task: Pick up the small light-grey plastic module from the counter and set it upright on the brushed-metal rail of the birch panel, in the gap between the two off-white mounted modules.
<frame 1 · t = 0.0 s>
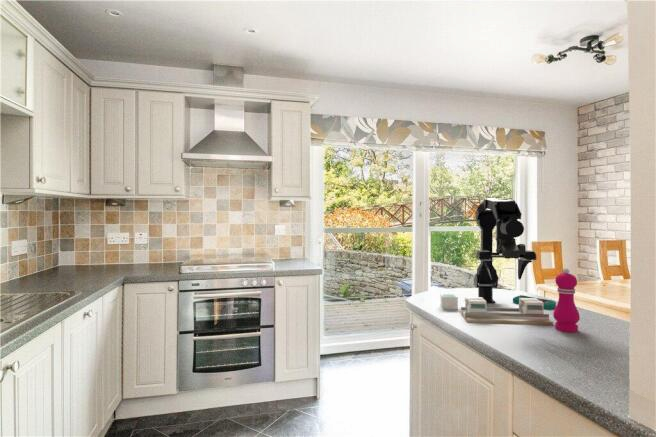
hand: (505, 279, 132), 15 cm above the table, tool pointing down, fingers open, 9 cm apart
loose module: (449, 307, 151), on the table
rail panel: (503, 317, 135), on the table
pepper mill: (566, 330, 121), on the table
digital multimeter: (533, 306, 153), on the table
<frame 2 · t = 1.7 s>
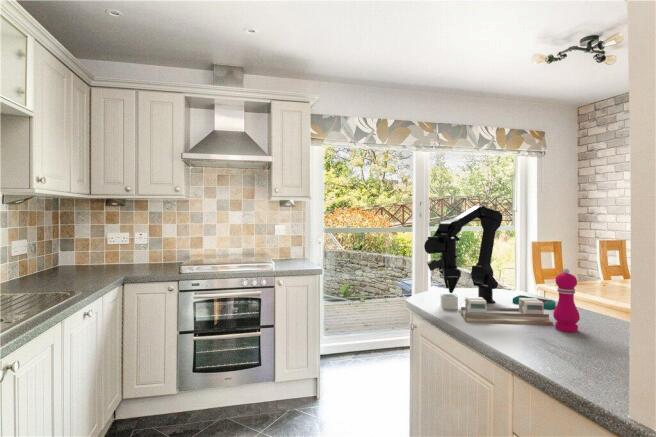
hand: (449, 290, 151), 7 cm above the table, tool pointing down, fingers open, 9 cm apart
nothing on the table moved.
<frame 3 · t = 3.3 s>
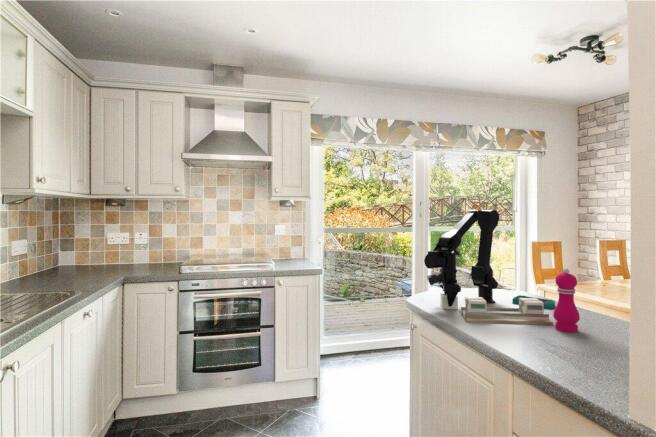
hand: (449, 304, 151), 1 cm above the table, tool pointing down, fingers closed on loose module, 5 cm apart
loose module: (449, 307, 151), on the table, touching gripper
everything else where it was.
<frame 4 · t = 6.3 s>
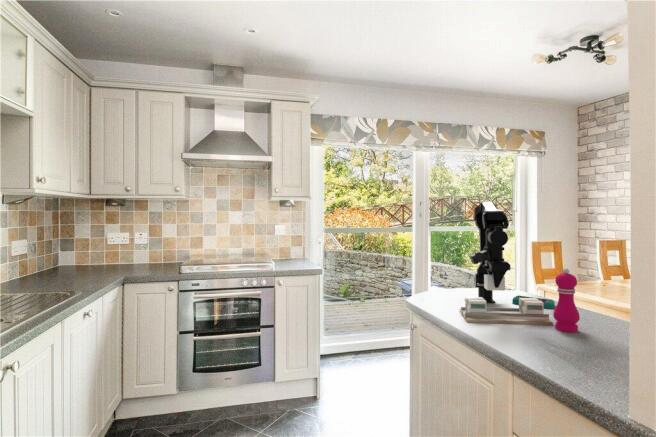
hand: (494, 286, 137), 11 cm above the table, tool pointing down, fingers closed on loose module, 5 cm apart
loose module: (494, 289, 137), point 10 cm above the table, touching gripper
everything else where it was.
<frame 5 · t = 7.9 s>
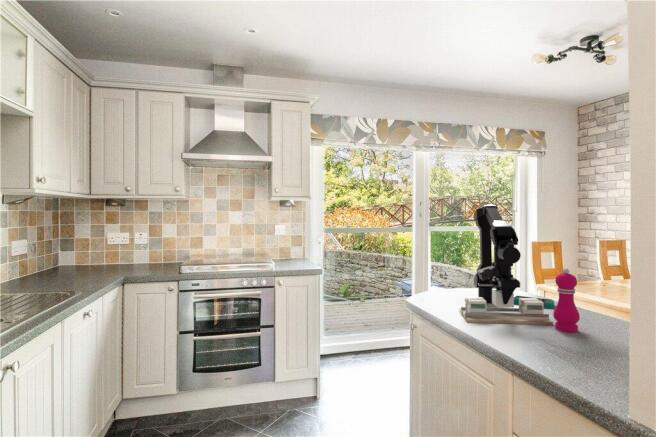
hand: (502, 302, 135), 6 cm above the table, tool pointing down, fingers closed on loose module, 5 cm apart
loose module: (502, 305, 136), point 5 cm above the table, touching gripper
when the fingers open (4 cm above the table, at t = 9.2 s): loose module drops 1 cm, resting on rail panel.
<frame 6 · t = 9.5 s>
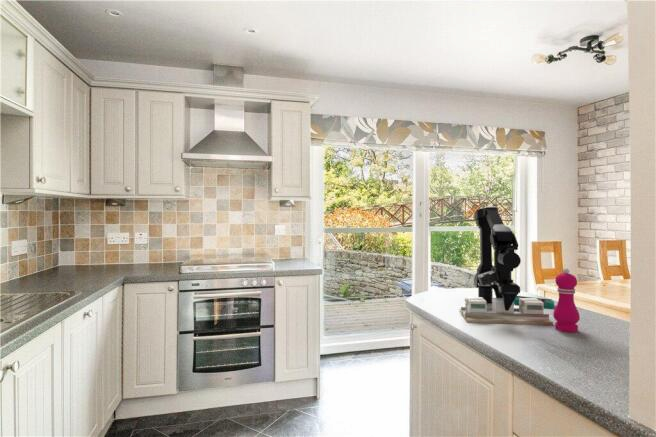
hand: (502, 307, 135), 4 cm above the table, tool pointing down, fingers open, 9 cm apart
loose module: (502, 313, 136), point 2 cm above the table, touching rail panel
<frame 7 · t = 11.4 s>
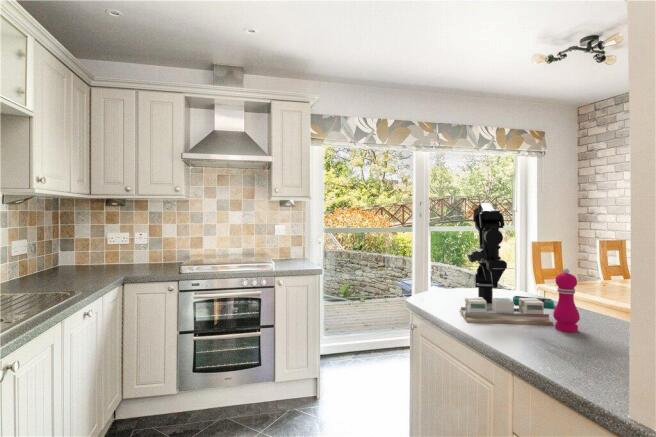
hand: (490, 283, 142), 11 cm above the table, tool pointing down, fingers open, 9 cm apart
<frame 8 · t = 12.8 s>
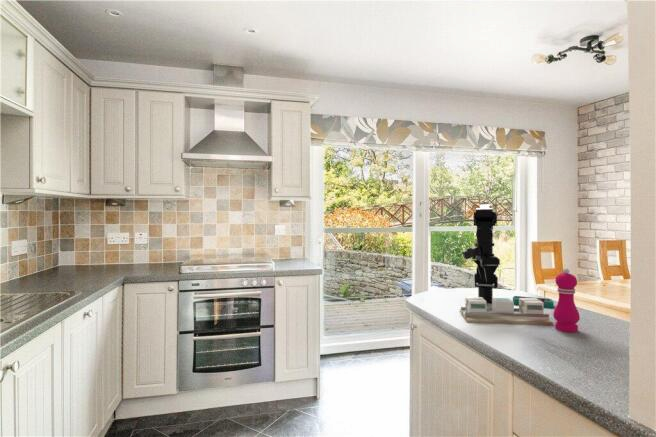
hand: (485, 280, 145), 12 cm above the table, tool pointing down, fingers open, 9 cm apart
at the end: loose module 0.1 cm off-centre on the rail panel, point 1.6 cm above the rail panel's base; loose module tilted 0°; the gripper is holding nothing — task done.
